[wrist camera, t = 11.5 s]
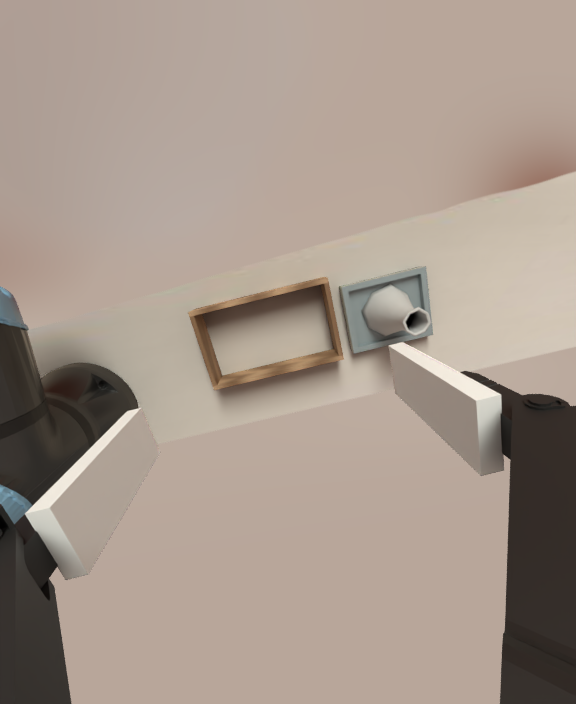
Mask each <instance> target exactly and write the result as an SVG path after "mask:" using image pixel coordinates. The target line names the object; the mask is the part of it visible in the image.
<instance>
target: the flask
mask: <svg viewBox="0 0 576 704" xmlns="http://www.w3.org/2000/svg"><path fill="white" fill-rule="evenodd" d="M361 311H362V313H363V316H364V318H365V321H366V323H367V326H368V328H370V329H372V330H373V331H375V332H377V333H379V334H381V335H383V336H387V335H390V334H392V333H395V332H398V331H402V330H404V331H406V332H407V333H409V334H411V335H413V336H418V335H420V334H422V333H424V332H426V330H427V329H428V327H429V326H430V324H431V323H432V322H431V319H430V316H429V313H428V312H426V311H425V310H423V309H421V308H419V307H417V308H415V309H414V308H413V306H412V304H411V302H410V300H409V297H408V295H407V293H405V292H403V291H401V290H400V289H398V288H396V287H394V286H393V285H391V284H390V285H387V286H385V287H383V288H381V289H379V290H377V291H375V292H373V293H371V295H370V297H369V298H368V300H367V302H366V304H365V305H364V307H363V309H362V310H361Z"/></svg>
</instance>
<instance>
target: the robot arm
mask: <svg viewBox="0 0 576 704" xmlns="http://www.w3.org/2000/svg"><path fill="white" fill-rule="evenodd" d="M27 330H29V329H28V326H27V325H25V324H24V322H23V319H22V316H21V314H20V311H19V308H18V305H17V302H16V300H15V298H14V296H13V295H12V294H11V293H10V292H9V291H8V290H6V289H4V288H3V287H0V704H71V698H70V691H69V684H68V677H67V671H66V665H65V657H64V650H63V644H62V637H61V630H60V623H59V617H58V610H57V602H56V595H55V589H54V586H53V584H52V583H51V581H50V580H49V577H50V576H51V575H52V573H53V572H54V570H55V569H56V567H58V568H59V570H60V572H61V573H62V575H63V577H64V578H65V580H68V579H72V578H76V577H80V576H84V575H88V574H89V573H90V571H91V569H92V567H93V566H94V564H95V562H96V561H97V559H98V557H99V556H100V554H101V552H102V551H103V549H104V547H105V545H106V544H107V542H108V540H109V539H110V537H111V535H112V534H113V532H114V530H115V529H116V527H117V525H118V524H119V522H120V520H121V518H122V517H123V515H124V513H125V511H126V510H127V508H128V506H129V505H130V503H131V501H132V500H133V498H134V496H135V495H136V493H137V491H138V489H139V488H140V486H141V484H142V482H143V481H144V479H145V477H146V476H147V474H148V473H149V471H150V469H151V467H152V466H153V464H154V462H155V461H156V459H157V457H158V456H159V454H160V450H159V448H158V445H157V443H156V441H155V438H154V436H153V434H152V431H151V429H150V426H149V424H148V422H147V419H146V417H145V415H144V412H143V410H142V408H138V406H137V402H136V399H135V396H134V394H133V392H132V391H131V389H130V388H129V386H128V385H127V384H126V383H125V382H124V381H123V380H122V379H121V378H120V377H119V376H118V375H116V374H115V373H113V372H112V371H110V370H108V369H106V368H104V367H101V366H98V365H94V364H89V363H74V364H69V365H65V366H63V367H61V368H58V369H56V370H54V371H52V372H50V373H48V374H47V375H45V376H44V377H42V378H41V379H40V375H39V371H38V368H37V364H36V361H35V357H34V354H33V350H32V347H31V343H30V340H29V336H28V333H27ZM388 347H389V354H390V360H391V367H392V374H393V381H394V387H395V393H396V394H397V395H398V396H399V397H400V398H401V399H402V400H403V401H404V402H405V403H406V404H407V405H408V406H409V407H410V408H411V409H412V410H413V411H414V412H415V413H416V414H417V415H418V416H419V417H420V418H421V419H422V420H423V421H425V422H426V423H427V424H428V425H429V426H430V427H431V428H432V429H433V430H434V431H435V432H436V433H437V434H438V435H439V436H440V437H441V438H442V439H443V440H444V441H445V442H446V443H447V444H448V445H450V446H451V448H453V450H455V451H456V452H457V453H458V454H459V455H460V456H461V457H462V458H463V459H464V460H465V461H466V462H467V463H468V464H469V465H470V466H471V467H472V468H473V469H474V470H475V471H476V472H477V473H478V474H480V476H483V475H487V474H491V473H496V472H499V471H503V470H504V459H503V454H504V455H505V456H506V457H508V458H509V459H510V460H511V462H510V493H509V525H508V554H507V586H506V616H505V617H506V618H505V632H504V634H503V645H502V668H501V694H500V704H576V406H570V405H569V404H568V402H566V401H564V400H562V399H560V398H557V397H553V396H550V395H543V394H527V395H520V394H518V393H516V392H514V391H512V390H510V389H508V388H506V387H504V386H502V385H500V384H497V383H496V382H494V381H492V380H489V379H488V378H486V377H484V376H482V375H480V374H477V373H472V372H468V371H463V372H458V371H456V370H454V369H452V368H450V367H449V366H447V365H445V364H443V363H441V362H439V361H437V360H435V359H434V358H432V357H430V356H428V355H426V354H424V353H422V352H420V351H419V350H417V349H415V348H413V347H411V346H409V345H407V344H405V343H404V342H401V343H397V344H393V345H389V346H388Z"/></svg>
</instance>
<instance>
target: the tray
mask: <svg viewBox="0 0 576 704" xmlns="http://www.w3.org/2000/svg"><path fill="white" fill-rule="evenodd" d="M390 284H391V285H393V286H394V287H396V288H398V289H400V290H401V291H403V292H405V293H407V295H408V297H409V300H410V302H411V304H412V306H413V308H414V309H415V308H417V307H419V308H421V309H423V310H425V311H426V312H428V313H429V316H430V319H431V310H430V301H429V291H428V282H427V272H426V266H425V267H416V268H412V269H408V270H404V271H400V272H396V273H392V274H388V275H384V276H380V277H376V278H372V279H368V280H364V281H360V282H356V283H352V284H348V285H343V286H339V289H340V294H341V300H342V305H343V310H344V315H345V321H346V326H347V331H348V337H349V342H350V347H351V351H352V352H353V353H358V352H363V351H367V350H371V349H375V348H379V347H384V346H388V345H392V344H396V343H400V342H405V341H409V340H413V339H417V338H421V337H426V336H430V335H433V329H432V323H431V324H430V326H429V327H428V329H427V330H426V332H424V333H422V334H420V335H418V336H413V335H411V334H409V333H407V332H406V331H404V330H402V331H398V332H395V333H392V334H390V335H387V336H383V335H381V334H379V333H377V332H375V331H373V330H372V329H370V328H368V326H367V323H366V321H365V318H364V316H363V313H362V311H361V310H362V309H363V307H364V305H365V304H366V302H367V300H368V298H369V297H370V295H371V293H373V292H375V291H377V290H379V289H381V288H383V287H385V286H387V285H390ZM431 322H432V319H431Z"/></svg>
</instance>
